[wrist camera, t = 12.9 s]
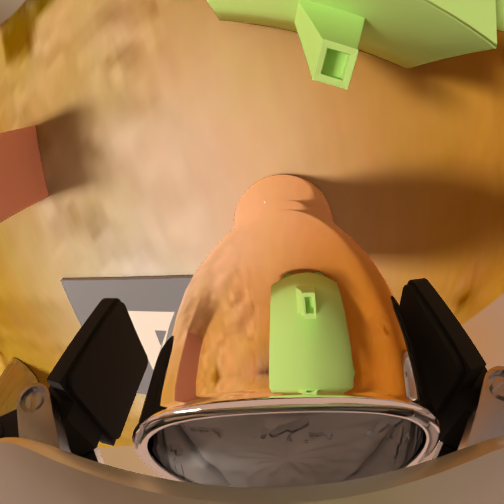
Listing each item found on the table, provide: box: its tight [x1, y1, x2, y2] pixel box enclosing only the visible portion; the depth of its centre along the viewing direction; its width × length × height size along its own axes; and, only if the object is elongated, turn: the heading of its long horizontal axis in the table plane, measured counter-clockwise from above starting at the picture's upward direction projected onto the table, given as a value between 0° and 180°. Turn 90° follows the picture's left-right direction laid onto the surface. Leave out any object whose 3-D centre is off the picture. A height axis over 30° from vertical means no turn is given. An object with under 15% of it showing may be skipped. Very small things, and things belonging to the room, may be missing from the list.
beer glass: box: [132, 175, 441, 487], centre depth 11 cm, size 7×7×15 cm
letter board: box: [61, 275, 193, 394], centre depth 24 cm, size 15×15×1 cm
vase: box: [0, 358, 39, 416], centre depth 25 cm, size 6×6×14 cm
